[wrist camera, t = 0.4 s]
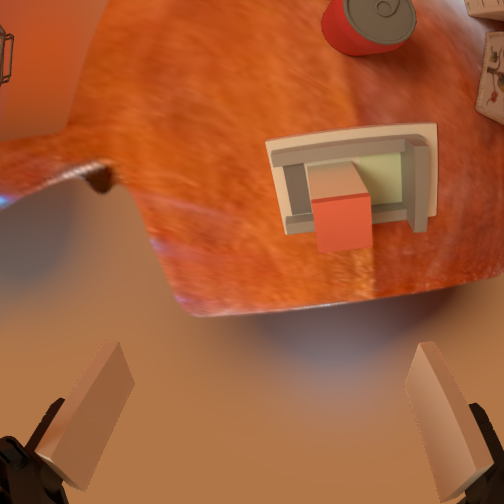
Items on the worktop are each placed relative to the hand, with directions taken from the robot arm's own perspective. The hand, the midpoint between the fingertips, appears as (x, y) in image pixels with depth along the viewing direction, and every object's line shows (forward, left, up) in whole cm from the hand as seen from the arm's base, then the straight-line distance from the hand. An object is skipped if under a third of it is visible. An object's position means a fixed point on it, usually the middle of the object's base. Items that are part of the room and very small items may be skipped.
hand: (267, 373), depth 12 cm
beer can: (-15, -9, -27) cm, 33 cm away
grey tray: (-6, +6, -27) cm, 29 cm away
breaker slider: (-3, +4, -26) cm, 26 cm away
